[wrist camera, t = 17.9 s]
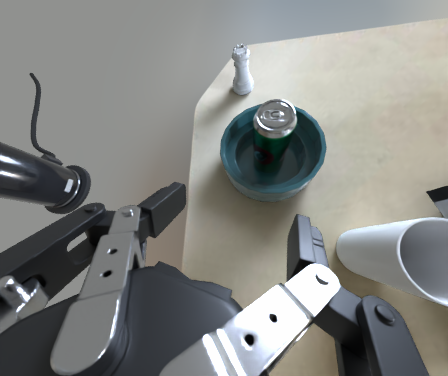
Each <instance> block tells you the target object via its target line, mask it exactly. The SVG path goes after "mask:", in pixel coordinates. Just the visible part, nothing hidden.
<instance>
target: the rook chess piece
mask: <svg viewBox="0 0 448 376" xmlns="http://www.w3.org/2000/svg"><path fill="white" fill-rule="evenodd" d="M249 55H250V51H249V50H248V49H247V45H245V47H244V44H241V47H239V45H236V48H235V47H234V49H233V54H232V59H233V60H234V61H235V62H234V66H235V68H236V72H235V77H234V80H233V90H234V91H235V92H236V93H237V94H239V95H245V94H247V93H249V92H250V91H251V90H252V88H253V86H254V85H253V78H252V76H251V75H250V73H249V70H248V64H249V60H248V57H249Z"/></svg>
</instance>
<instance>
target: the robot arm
mask: <svg viewBox="0 0 448 376" xmlns="http://www.w3.org/2000/svg"><path fill="white" fill-rule="evenodd" d="M30 76H31V77H32V79H33V80H34V82H35V84H36V98H35V105H34V110H33V115H32V120H31V141H32V144H33V146H34V147H35V148H36V149H37V150H38V151H40V152H42V153H44V155H43V156H42V157H41V158H40V157H38V156H35V155H32V154H30V153H27V152H24V151H22V150H19V149H17V148H14V147H12V146H9V145H7V144H4V143H1V142H0V198H4V199H10V200H16V201H22V202H28V203H34V204H39V205H45V206H50V207H54V208H62V207H65V206H67V205H69V204H70V203H71V202H73V201H74V200H75V198H76V197H77V196H78V194H79V192H80V190H81V186H82V178H81V175H80V174H79V173H78V172H77V171H75V170H72V169H68V168H66V167H63V166H61V165H62V164H63V163H62V162H61V161H60V160H59V159H56V158H55V155H54V154H53V153H51V152H49V151H47V150H44V149H42V148H41V147H39V145H38V143H37V140H36V122H37V116H38V111H39V104H40V97H41V87H40V84H39V81H38V80H37V79H36V77H35V76H34V74H33V73H30ZM185 205H186V187H185V185H184V184H181V183H177V182H174V183H172V184H171V185H170V186H168V187H164V188H162V189H160V190H158V191H157V192H156V193H154V194H153V195H152V196H150V197H148V198H147V199H146V200H144V201H143V202H141V203H140V204H139V205H137V206H134V205H129V206H125V207H122V208H120V209H118V210H117V211H106V209H105V206H104V205H103V204H101V203H91V204H87V205H84V206H82V207H81V208H79V209H77V210H75V211H73V212H72V213H70V214H68V215H66V216H65V217H63V218H61V219H59V220H58V221H56V222H54V223H52V224H51V225H49V226H47V227H45V228H44V229H42V230H40V231H38V232H37V233H35V234H33V235H31V236H30V237H28V238H26V239H25V240H23V241H21V242H19V243H17V244H16V245H14V246H12V247H10V248H9V249H7V250H5V251H3V252H2V253H0V376H269V373H270V372H271V371H272V370H273V369H274V368H275V367H276V366H277V364H278V363H279V362H280V361H281V360H282V359H283V358H284V356H285V355H286V354H287V353H288V351H289V350H290V349H291V348H292V347H293V346H294V344H295V343H296V342H297V341H298V340H299V339H300V338H301V337H302V336H303V334H304V333H305V332H306V331H307V330H308V329H309V328H310V327H311V325H312V324H313V323H315V324H316V325H317V326H319V327H320V328H321V329H323V330H324V331H325V332H327V333H328V334H329V335H331V336H332V337H333V338H334V339H335V347H336V355H337V363H338V371H339V376H429V374H428V371H427V369H426V367H425V365H424V363H423V360H422V358H421V356H420V354H419V351H418V349H417V347H416V345H415V343H414V340H413V338H412V336H411V334H410V331H409V329H408V327H407V325H406V323H405V321H404V319H403V318H402V316H401V315H400V314H399V312H398V311H397V310H396V309H395V308H394V307H393V306H391V305H390V304H389V303H387V302H386V301H384V300H383V299H381V298H378V297H376V296H372V295H368V296H365V297H364V298H363V299H362V298H360V297H358V296H357V295H355V294H353V293H351V292H350V291H348V290H347V289H345V288H344V287H342V286H341V285H340V283H339V280H338V279H337V277H336V276H335V274H334V273H333V272H332V271H331V270H329V265H328V261H327V256H326V252H325V248H324V243H323V238H322V234H321V233H320V231H319V230H318V229H317V227H313V226H311V224H310V218H309V217H306V216H303V215H299V214H296V216H295V218H294V221H293V224H292V226H291V229H290V231H289V235H288V241H287V283H286V284H284V285H283V284H282V283H280V284H278V285H276V286H275V287H274V288H272V289H271V290H270V291H268V292H267V293H266V294H264V295H263V296H262V297H260V298H259V299H258V300H256V301H255V302H254V303H252V304H251V305H250V306H249V307H247V308H246V309H245V310H243V309H242V308H241V306H240V305H239V304H238V303H237V302H236V301H235V300H234V299H233V298H231V293H232V290H230V289H228V288H225V287H223V286H220V285H218V284H215V283H213V282H205V281H197V280H191V279H189V278H188V277H187V276H185V275H184V274H183V273H182V272H180V271H179V270H178V269H177V268H175V267H173V266H170V265H168V264H165V263H163V262H160V261H159V262H158V263H157V264H156V265H155V267H154V266H148V267H145V259H146V246H147V240H146V238H147V237H148V236H151V237H153V238H156V237H157V236H158V235H159V234H160V233H161V232H162V231H163V230H164V229H165V228H166V227H167V226H168V225H169V224H170V223H171V222H172V221H173V219H174V218H175V217H176V216H177V215H178V214H179V213H180V212H181V211H182V210H183V209H184V207H185ZM83 232H85V233H86V235H87V238H86V239H85V240H84V241H82V242H81V243H80V244H78V245H77V246H76V247H74V248H73V249H72V250H70V251H69V252H68V251H67V246H68V244H69V243H70V242H71V241H72V240H74V239H75V238H76V237H78V236H79V235H81V234H82V233H83ZM88 265H90V267H89V270H88V272H87V275H86V278H85V280H84V283H83V286H82V288H81V291H80V293H79V294H77V295H74V296H72V297H70V298H68V299H65V300H63V301H61V302H58V303H56V304H54V305H52V306H49V307H47V308H45V306H46V305H47V303H48V301H50V300H51V299H52V298H53V297H54V296H55V295H56V294H57V293H58V292H60V291H61V290H62V289H63V288H64V287H65V286H66V285H67V284H68V283H70V282H71V281H72V280H73V279H74V278H75V277H76V276H77V275H78V274H80V273H81V272H82V271H83V270H84V269H85V268H86V267H87V266H88ZM44 308H45V309H44Z"/></svg>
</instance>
